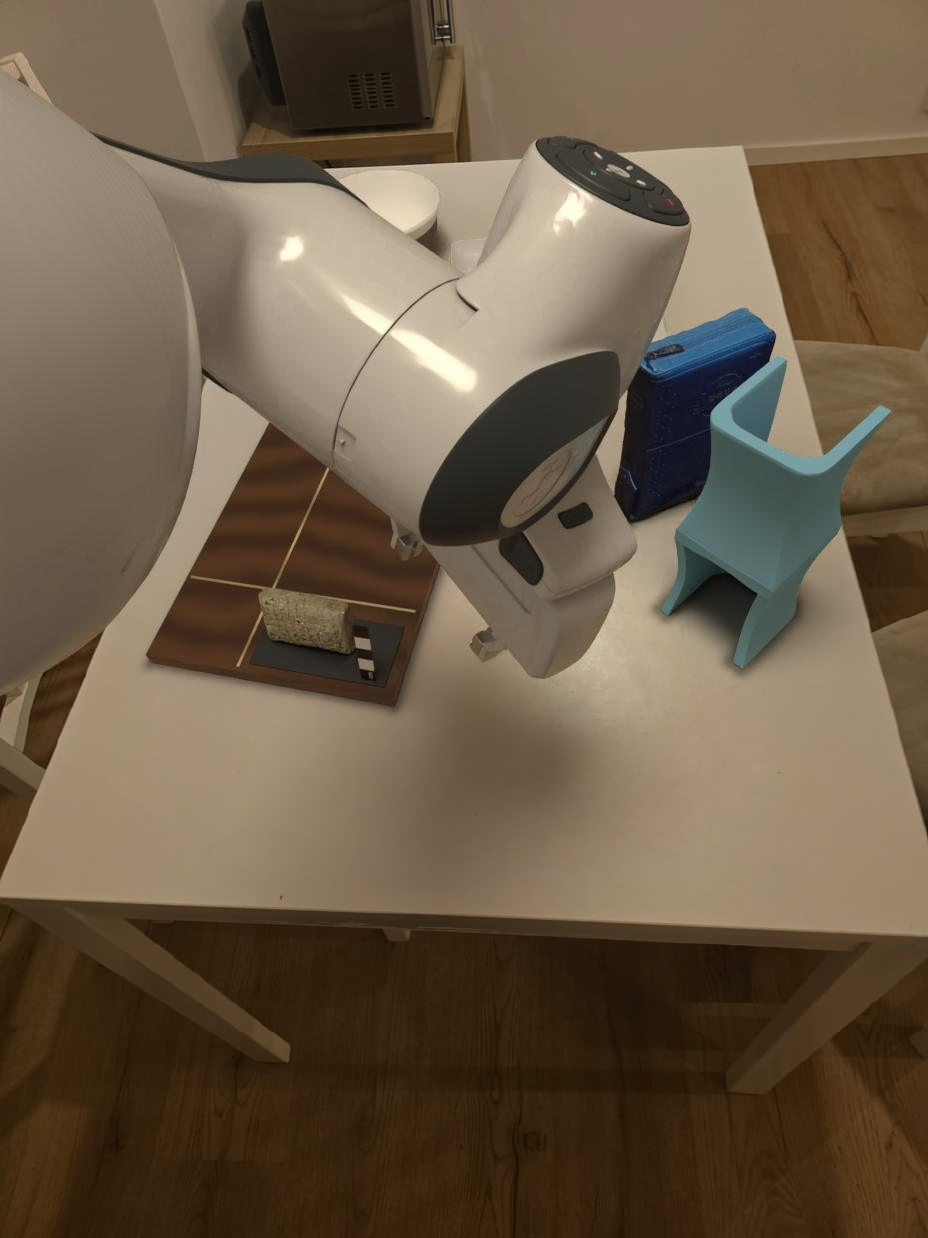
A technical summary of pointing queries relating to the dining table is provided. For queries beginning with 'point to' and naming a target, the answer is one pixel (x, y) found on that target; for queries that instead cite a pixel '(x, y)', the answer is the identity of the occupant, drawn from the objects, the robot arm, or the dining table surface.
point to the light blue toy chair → (762, 508)
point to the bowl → (399, 200)
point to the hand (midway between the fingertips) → (443, 600)
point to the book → (683, 408)
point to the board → (297, 580)
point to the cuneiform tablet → (316, 624)
